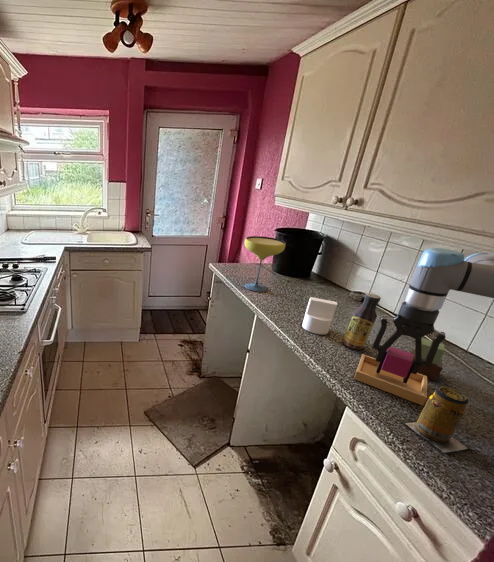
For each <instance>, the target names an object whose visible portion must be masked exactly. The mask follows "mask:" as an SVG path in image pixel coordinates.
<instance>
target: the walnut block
mask: <svg viewBox="0 0 494 562" xmlns="http://www.w3.org/2000/svg"><path fill="white" fill-rule="evenodd" d="M410 353H411V354H413V360H414V361H415V349H414V348H411V350H410ZM442 370H443V358H442V357H441V359H440V362H439V364H438V365H437V364H434V363H432V364H431V366H426V365H421V366H420V368H419V370H418V372H417V373H419V374H422V375H425V376H427V380H430V381H433V382H437V380H438V378H439V376H440V374H441V373H442Z"/></svg>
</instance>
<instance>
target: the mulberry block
mask: <svg viewBox="0 0 494 562" xmlns="http://www.w3.org/2000/svg"><path fill="white" fill-rule="evenodd" d="M386 351H387V356H386V358H385V360H384V363H383V365H382V368H381V370H384V371H386V372H389V373H392V374H395V375H398V376H401V377H403V378H406V376H407V374H408V372H409V370H410V367H411V365H412V363H413V354H411V352H408V351H404V350H401V349H398V348H395V347H392V346H390V347H389V348H388V349H387V350H386Z"/></svg>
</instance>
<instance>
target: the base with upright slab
mask: <svg viewBox="0 0 494 562" xmlns="http://www.w3.org/2000/svg"><path fill="white" fill-rule="evenodd" d="M337 307H338V302H337V301H334V300H329V299H323V298H318V297H313V296H310V297H309V300H308V303H307V307H306V309H305V314H304V317H303V321H302V325H301V326H302V328H303V329H304V330H305V331H307V332H310V333H312V334H315V335H322V336H323V335H327V334H329V332H330V330H331V329H330V328H331V326H332V322H333V319H334V316H335V314H336V310H337Z"/></svg>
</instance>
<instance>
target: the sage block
mask: <svg viewBox="0 0 494 562" xmlns="http://www.w3.org/2000/svg"><path fill="white" fill-rule="evenodd" d="M432 341H433V340H431V339H427V338H424V337H422V359H426V356H427V354H428V351H429V349H430V346H431V343H432ZM445 351H446V350H445V344H444V343H442V342H441V343H440V344H439V347H438V349H437V352H436V354H435V357H434V359H433V362H432V363H434V364H437V365H438V364H439V362H440V359H441V358H442V357H443V355H444V353H445Z"/></svg>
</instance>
